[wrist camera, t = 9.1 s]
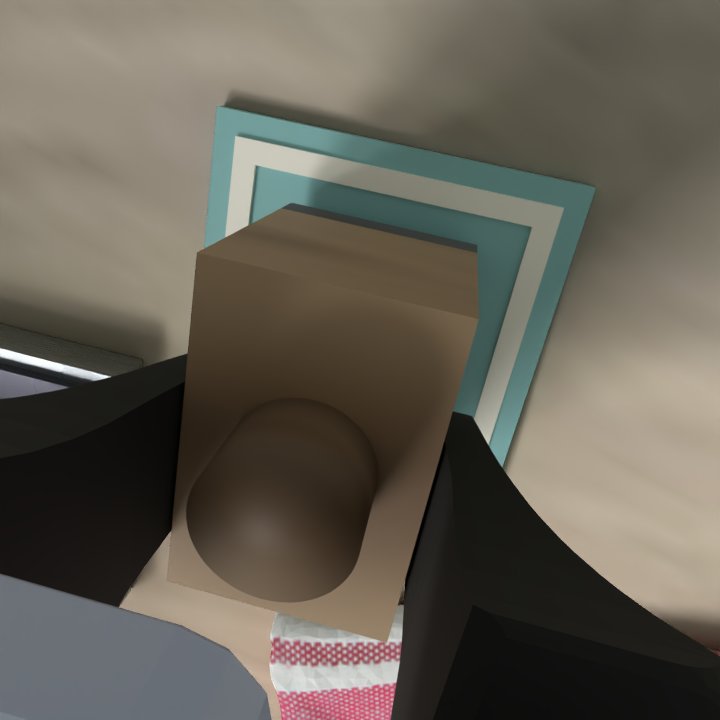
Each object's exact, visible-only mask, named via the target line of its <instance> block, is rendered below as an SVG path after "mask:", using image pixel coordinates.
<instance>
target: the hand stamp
mask: <svg viewBox="0 0 720 720" xmlns="http://www.w3.org/2000/svg"><path fill="white" fill-rule="evenodd" d="M478 321H479V301H478V257H477V245H475V244H471V243H467V242H462V241H458V240H453V239H449V238H445V237H440V236H436V235H431V234H427V233H423V232H418V231H414V230H410V229H405V228H401V227H396V226H392V225H388V224H383V223H379V222H374V221H370V220H366V219H361V218H357V217H352V216H348V215H344V214H339V213H335V212H330V211H326V210H322V209H317V208H313V207H308V206H304V205H300V204H295V203H290V204H288V205H286V206H284V207H282V208H280V209H278V210H276V211H274V212H273V213H271V214H269V215H267V216H265V217H263V218H261V219H259V220H257V221H256V222H254V223H252V224H250V225H248V226H246V227H244V228H242V229H240V230H239V231H237V232H235V233H233V234H231V235H229V236H227V237H225V238H223V239H221V240H220V241H218V242H216V243H214V244H212V245H210V246H208V247H206V248H204V249H203V250H201V251H199V252H197V259H196V269H195V280H194V291H193V302H192V313H191V324H190V335H189V346H188V356H187V367H186V378H185V389H184V400H183V411H182V422H181V433H180V444H179V454H178V465H177V476H176V487H175V498H174V509H173V520H172V531H171V542H170V552H169V563H168V574H167V581H169V582H172V583H176V584H180V585H183V586H187V587H190V588H194V589H197V590H201V591H205V592H208V593H212V594H215V595H219V596H222V597H226V598H229V599H233V600H237V601H240V602H244V603H247V604H251V605H254V606H258V607H262V608H265V609H269V610H272V611H276V612H279V613H283V614H286V615H290V616H294V617H297V618H301V619H304V620H308V621H311V622H315V623H319V624H322V625H326V626H329V627H333V628H336V629H340V630H343V631H347V632H351V633H354V634H358V635H361V636H365V637H368V638H372V639H376V640H379V641H383V642H386V643H387V641H388V638H389V634H390V631H391V627H392V624H393V620H394V617H395V613H396V610H397V606H398V602H399V599H400V595H401V592H402V588H403V585H404V581H405V578H406V574H407V571H408V567H409V564H410V560H411V557H412V553H413V550H414V546H415V543H416V539H417V536H418V532H419V528H420V525H421V521H422V518H423V514H424V511H425V507H426V504H427V500H428V497H429V493H430V490H431V486H432V483H433V479H434V476H435V472H436V469H437V465H438V462H439V458H440V454H441V451H442V447H443V444H444V440H445V437H446V433H447V430H448V426H449V423H450V419H451V416H452V412H453V409H454V405H455V402H456V398H457V395H458V391H459V388H460V384H461V380H462V377H463V373H464V370H465V366H466V363H467V359H468V356H469V352H470V349H471V345H472V342H473V338H474V335H475V331H476V328H477V324H478Z"/></svg>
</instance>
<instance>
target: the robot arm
mask: <svg viewBox="0 0 720 720" xmlns="http://www.w3.org/2000/svg"><path fill="white" fill-rule="evenodd" d="M187 356H188V354H184V355H181V356H178V357H175V358H171V359H168V360H165V361H162V362H159V363H156V364H153V365H149V366H146V367H143V368H140V369H137V370H133V371H130V372H127V373H123V374H120V375H116V376H112V377H109V378H105V379H101V380H97V381H94V382H90V383H86V384H83V385H79V386H74V387H70V388H65V389H60V390H55V391H50V392H44V393H39V394H33V395H27V396H21V397H14V398H4V399H0V720H271V715H270V709H269V703H268V697H267V693H266V692H265V691H264V689H263V688H262V687H261V685H260V684H259V683H258V682H257V681H256V680H255V678H254V677H253V676H252V675H251V674H250V673H249V672H248V670H247V669H246V668H245V667H244V666H243V665H242V663H241V662H240V661H239V660H238V659H237V658H236V657H235V655H234V654H233V653H232V652H231V651H230V650H229V649H228V648H226V647H224V646H222V645H220V644H218V643H216V642H214V641H212V640H210V639H208V638H206V637H204V636H202V635H200V634H198V633H196V632H194V631H192V630H190V629H188V628H186V627H184V626H182V625H178V624H175V623H171V622H168V621H164V620H161V619H157V618H154V617H150V616H147V615H143V614H140V613H136V612H133V611H129V610H126V609H122V608H119V605H120V604H121V602H122V600H123V599H124V597H125V595H126V593H127V592H128V590H129V588H130V587H131V585H132V584H133V582H134V581H135V579H136V578H137V576H138V575H139V574H140V572H141V571H142V569H143V568H144V566H145V565H146V564H147V562H148V561H149V560H150V558H151V557H152V556H153V554H154V553H155V551H156V550H157V549H158V547H159V546H160V545H161V543H162V542H163V541H164V539H165V538H166V537H167V535H168V534H169V533H170V531H171V530H172V520H173V509H174V498H175V487H176V476H177V465H178V454H179V444H180V433H181V422H182V411H183V400H184V389H185V378H186V367H187ZM390 720H720V656H719V655H717V654H716V653H714V652H712V651H711V650H709V649H708V648H706V647H704V646H703V645H701V644H699V643H698V642H696V641H695V640H693V639H691V638H690V637H688V636H686V635H685V634H683V633H682V632H680V631H678V630H677V629H675V628H673V627H672V626H670V625H669V624H667V623H665V622H664V621H662V620H660V619H659V618H658V617H656V616H655V615H653V614H652V613H650V612H649V611H647V610H646V609H645V608H643V607H642V606H641V605H639V604H638V603H636V602H635V601H634V600H632V599H631V598H629V597H628V596H627V595H625V594H624V593H623V592H621V591H620V590H619V589H617V588H616V587H615V586H614V585H612V584H611V583H610V582H608V581H607V580H606V579H605V578H603V577H602V576H601V575H600V574H598V573H597V572H596V571H595V570H594V569H593V568H592V567H590V566H589V565H588V564H587V563H586V562H585V561H584V560H583V559H581V558H580V557H579V556H578V555H577V554H576V553H575V552H573V551H572V550H571V549H570V548H569V547H568V546H567V545H566V544H565V543H564V542H563V541H562V540H561V539H560V538H559V537H558V536H557V535H556V534H555V533H554V532H553V531H552V530H551V528H550V527H549V526H548V525H547V524H546V523H545V522H544V521H543V520H542V519H541V518H540V517H539V516H538V514H537V513H536V512H535V511H534V510H533V509H532V507H531V506H530V505H529V504H528V502H527V501H526V500H525V498H524V497H523V496H522V495H521V493H520V492H519V491H518V489H517V488H516V487H515V485H514V484H513V483H512V481H511V480H510V478H509V477H508V476H507V474H506V473H505V471H504V470H503V468H502V467H501V465H500V463H499V462H498V460H497V459H496V457H495V455H494V454H493V452H492V450H491V448H490V447H489V445H488V443H487V442H486V440H485V438H484V436H483V434H482V433H481V431H480V429H479V427H478V425H477V424H476V422H475V420H474V419H473V417H472V416H470V415H466V414H462V413H458V412H454V411H453V412H452V416H451V419H450V423H449V426H448V430H447V433H446V437H445V440H444V444H443V447H442V451H441V454H440V458H439V462H438V465H437V469H436V472H435V476H434V479H433V483H432V486H431V490H430V493H429V497H428V500H427V504H426V507H425V511H424V514H423V518H422V521H421V525H420V528H419V532H418V536H417V539H416V543H415V546H414V550H413V553H412V557H411V560H410V564H409V567H408V571H407V574H406V578H405V593H404V611H403V628H402V644H401V653H400V663H399V670H398V676H397V682H396V688H395V695H394V701H393V707H392V713H391V719H390Z"/></svg>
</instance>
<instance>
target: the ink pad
mask: <svg viewBox="0 0 720 720" xmlns="http://www.w3.org/2000/svg"><path fill="white" fill-rule="evenodd" d="M140 368H142V359H138V358H134V357H130V356H126V355H122V354H118V353H114V352H110V351H106V350H102V349H98V348H94V347H90V346H86V345H82V344H78V343H74V342H70V341H66V340H62V339H59V338H55V337H51V336H47V335H43V334H39V333H35V332H31V331H27V330H23V329H19V328H15V327H11V326H7V325H3V324H0V399H4V398H14V397H21V396H27V395H33V394H39V393H44V392H50V391H55V390H60V389H65V388H70V387H74V386H79V385H83V384H86V383H90V382H94V381H97V380H101V379H105V378H109V377H112V376H116V375H120V374H123V373H127V372H130V371H133V370H137V369H140ZM130 591H131V587H130V588H129V590H128V592H127V593H126V595H125V597H124V599H125V598H126V596H127V595H128V594H129V592H130ZM124 599H123V600H122V602H123V601H124ZM122 602H121V604H122ZM121 604H120V605H121ZM120 605H119V607H120Z"/></svg>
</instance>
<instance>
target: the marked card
mask: <svg viewBox="0 0 720 720" xmlns="http://www.w3.org/2000/svg"><path fill="white" fill-rule="evenodd" d="M595 190H596V188H595V187H594V186H590V185H586V184H581V183H576V182H572V181H567V180H563V179H558V178H553V177H549V176H544V175H539V174H535V173H530V172H526V171H521V170H516V169H512V168H507V167H502V166H498V165H493V164H489V163H484V162H479V161H475V160H470V159H465V158H461V157H456V156H452V155H447V154H442V153H438V152H433V151H428V150H424V149H419V148H415V147H410V146H405V145H401V144H396V143H392V142H387V141H382V140H378V139H373V138H368V137H364V136H359V135H355V134H350V133H345V132H341V131H336V130H331V129H327V128H322V127H318V126H313V125H308V124H304V123H299V122H294V121H290V120H285V119H281V118H276V117H271V116H267V115H262V114H258V113H253V112H248V111H244V110H239V109H234V108H230V107H225V106H217V110H216V121H215V132H214V144H213V155H212V166H211V178H210V189H209V200H208V212H207V223H206V234H205V246H204V248H206V247H208V246H210V245H212V244H214V243H216V242H218V241H220V240H221V239H223V238H225V237H227V236H229V235H231V234H233V233H235V232H237V231H239V230H240V229H242V228H244V227H246V226H248V225H250V224H252V223H254V222H256V221H257V220H259V219H261V218H263V217H265V216H267V215H269V214H271V213H273V212H274V211H276V210H278V209H280V208H282V207H284V206H286V205H288V204H290V203H295V204H300V205H304V206H308V207H313V208H317V209H322V210H326V211H330V212H335V213H339V214H344V215H348V216H352V217H357V218H361V219H366V220H370V221H374V222H379V223H383V224H388V225H392V226H396V227H401V228H405V229H410V230H414V231H418V232H423V233H427V234H431V235H436V236H440V237H445V238H449V239H453V240H458V241H462V242H467V243H471V244H475V245H477V257H478V301H479V321H478V324H477V328H476V331H475V335H474V338H473V342H472V345H471V349H470V352H469V356H468V359H467V363H466V366H465V370H464V373H463V377H462V380H461V384H460V388H459V391H458V395H457V398H456V402H455V405H454V409H453V411H454V412H458V413H462V414H466V415H470V416H472V417H473V419H474V420H475V422H476V424H477V425H478V427H479V429H480V431H481V433H482V434H483V436H484V438H485V440H486V442H487V443H488V445H489V447H490V448H491V450H492V452H493V454H494V455H495V457H496V459H497V460H498V462H499V463H500V465H501V467H503V464H504V461H505V458H506V455H507V452H508V449H509V446H510V443H511V440H512V437H513V434H514V431H515V428H516V425H517V422H518V419H519V416H520V413H521V410H522V407H523V404H524V401H525V398H526V395H527V392H528V389H529V386H530V383H531V381H532V378H533V375H534V372H535V369H536V366H537V363H538V360H539V357H540V354H541V351H542V348H543V345H544V342H545V339H546V336H547V333H548V330H549V327H550V324H551V321H552V318H553V315H554V312H555V309H556V306H557V303H558V300H559V297H560V294H561V291H562V288H563V285H564V282H565V279H566V276H567V273H568V270H569V268H570V265H571V262H572V259H573V256H574V253H575V250H576V247H577V244H578V241H579V238H580V235H581V232H582V229H583V226H584V223H585V220H586V217H587V214H588V211H589V208H590V205H591V202H592V199H593V196H594V193H595Z"/></svg>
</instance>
